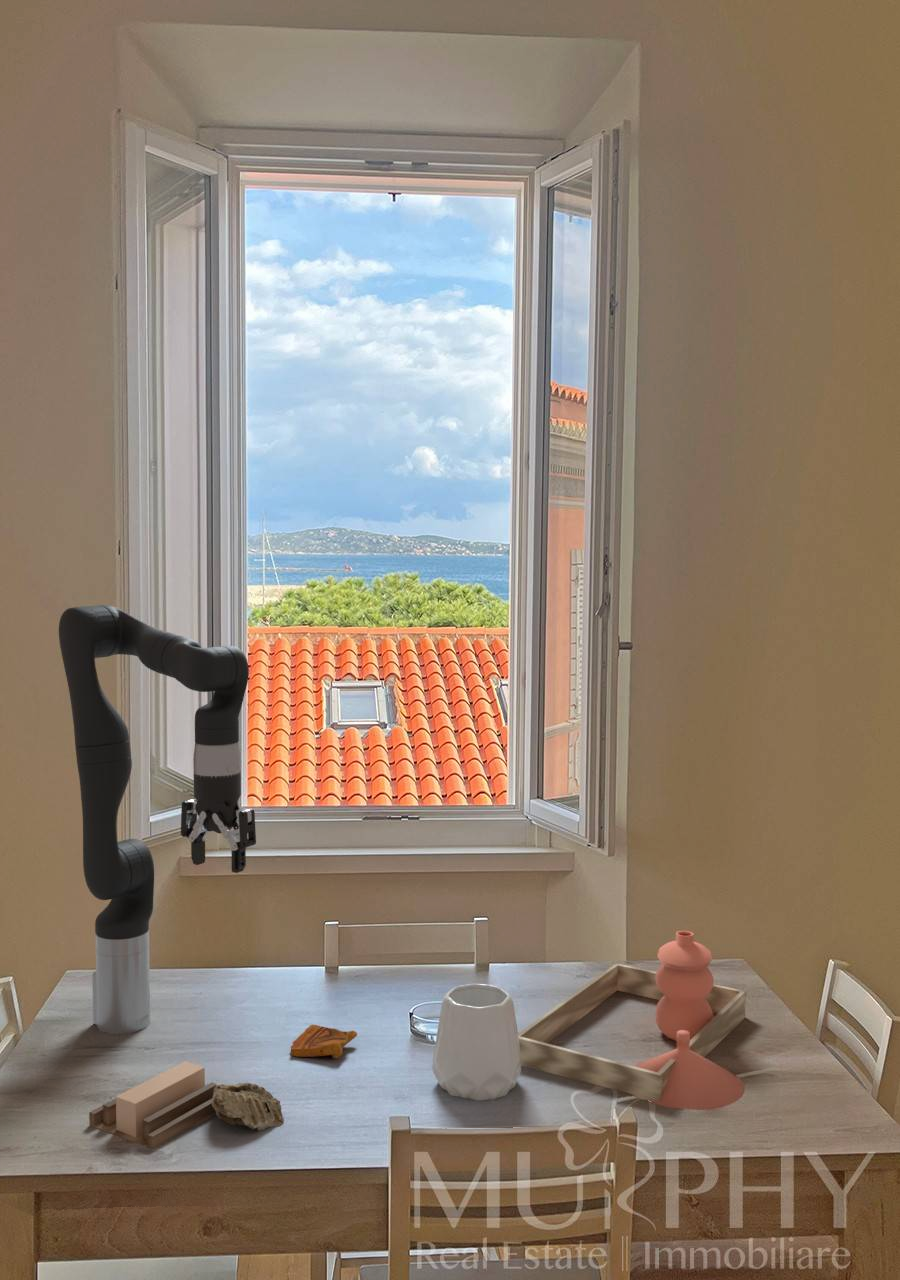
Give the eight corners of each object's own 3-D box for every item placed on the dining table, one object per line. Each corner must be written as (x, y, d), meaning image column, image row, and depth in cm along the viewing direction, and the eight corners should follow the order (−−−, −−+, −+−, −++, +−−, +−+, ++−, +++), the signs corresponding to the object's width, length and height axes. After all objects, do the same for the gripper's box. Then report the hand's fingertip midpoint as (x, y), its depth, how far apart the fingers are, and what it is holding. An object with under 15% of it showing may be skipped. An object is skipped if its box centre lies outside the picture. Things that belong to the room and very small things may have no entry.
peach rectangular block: (185, 1092, 186) (185, 1061, 185) (204, 1098, 184) (204, 1067, 183) (116, 1129, 174) (115, 1096, 174) (135, 1137, 172) (135, 1103, 171)
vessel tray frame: (512, 1066, 198) (513, 1036, 198) (615, 988, 232) (615, 963, 232) (659, 1106, 184) (660, 1075, 184) (745, 1017, 219) (746, 991, 218)
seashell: (274, 1158, 175) (285, 1103, 184) (286, 1126, 172) (296, 1072, 181) (199, 1139, 174) (214, 1085, 183) (210, 1107, 171) (224, 1053, 179)
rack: (89, 1130, 176) (89, 1104, 175) (169, 1088, 189) (168, 1063, 189) (152, 1155, 169) (152, 1128, 168) (230, 1109, 182) (230, 1084, 182)
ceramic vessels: (753, 1125, 179) (755, 1003, 178) (611, 1112, 183) (612, 993, 182) (744, 1031, 213) (745, 927, 212) (625, 1022, 218) (625, 921, 216)
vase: (419, 1076, 194) (419, 985, 193) (498, 1061, 200) (499, 973, 198) (453, 1115, 181) (454, 1018, 180) (536, 1098, 187) (538, 1004, 185)
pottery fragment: (341, 1046, 197) (286, 1030, 200) (337, 1073, 198) (281, 1056, 200) (361, 1025, 207) (308, 1009, 209) (357, 1050, 207) (304, 1034, 210)
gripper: (266, 770, 193) (266, 869, 195) (201, 761, 201) (202, 856, 202) (234, 778, 187) (235, 880, 188) (168, 768, 194) (169, 866, 196)
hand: (218, 867), depth 195 cm, fingers open, 8 cm apart
